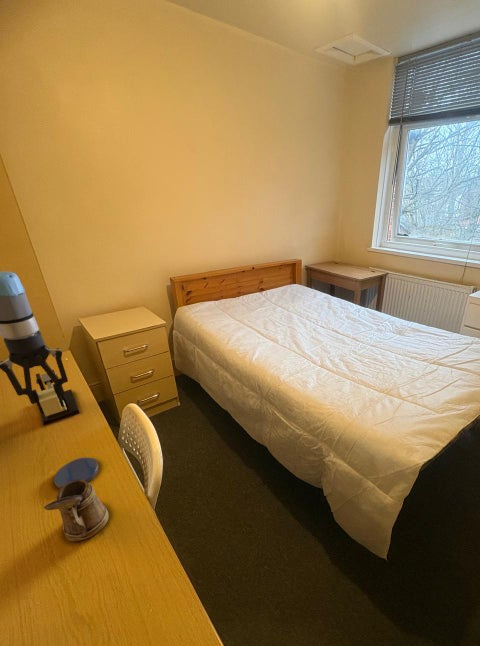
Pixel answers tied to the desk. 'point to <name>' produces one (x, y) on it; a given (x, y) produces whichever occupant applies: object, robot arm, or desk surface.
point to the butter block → (49, 402)
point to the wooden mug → (79, 510)
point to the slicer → (67, 399)
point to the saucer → (76, 471)
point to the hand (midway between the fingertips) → (52, 407)
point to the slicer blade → (48, 382)
